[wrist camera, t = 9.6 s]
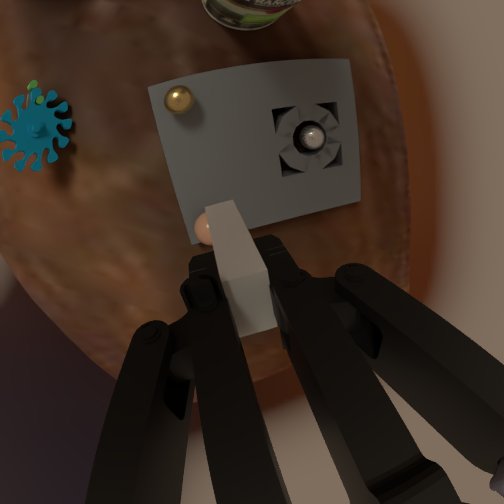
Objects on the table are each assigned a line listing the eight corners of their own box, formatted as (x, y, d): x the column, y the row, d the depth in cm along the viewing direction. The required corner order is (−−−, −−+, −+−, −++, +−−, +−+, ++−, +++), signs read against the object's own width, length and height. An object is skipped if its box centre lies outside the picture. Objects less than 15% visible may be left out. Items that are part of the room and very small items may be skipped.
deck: (191, 236, 37) (191, 245, 35) (150, 88, 26) (147, 87, 24) (351, 194, 39) (360, 200, 37) (339, 60, 29) (349, 58, 26)
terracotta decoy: (189, 210, 32) (190, 224, 29) (222, 202, 33) (226, 214, 29) (198, 239, 35) (200, 255, 31) (229, 231, 35) (234, 246, 32)
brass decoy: (161, 90, 25) (158, 89, 22) (190, 83, 25) (191, 80, 22) (168, 117, 26) (166, 118, 24) (196, 109, 27) (198, 110, 24)
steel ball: (314, 128, 29) (328, 123, 31) (292, 126, 31) (307, 122, 33) (316, 153, 31) (330, 147, 33) (295, 150, 33) (309, 144, 35)
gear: (75, 163, 27) (0, 181, 19) (60, 165, 29) (-4, 181, 22) (75, 75, 22) (1, 82, 15) (60, 88, 25) (-5, 97, 17)
